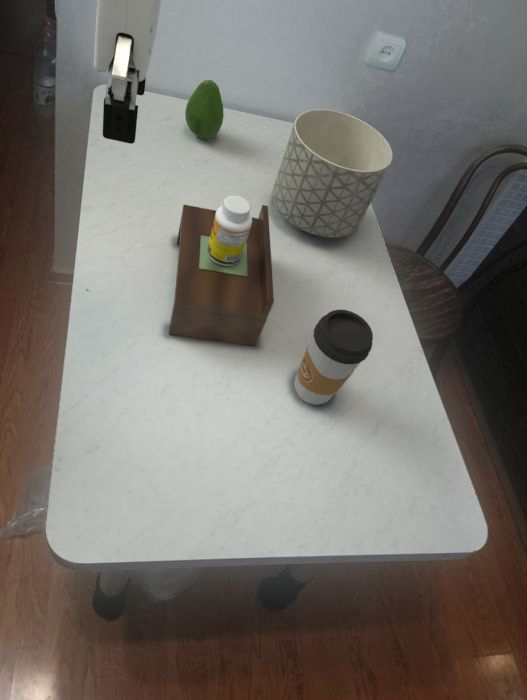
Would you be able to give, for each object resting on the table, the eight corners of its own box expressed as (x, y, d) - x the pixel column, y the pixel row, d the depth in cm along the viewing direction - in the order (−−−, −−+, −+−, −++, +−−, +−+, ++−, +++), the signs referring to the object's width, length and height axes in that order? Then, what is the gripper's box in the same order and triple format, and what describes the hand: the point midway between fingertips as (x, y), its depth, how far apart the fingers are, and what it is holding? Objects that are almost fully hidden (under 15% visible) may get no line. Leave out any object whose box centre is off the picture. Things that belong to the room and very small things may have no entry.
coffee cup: (280, 369, 85) (310, 308, 74) (326, 364, 88) (362, 304, 77) (297, 415, 81) (332, 357, 69) (345, 408, 84) (386, 351, 73)
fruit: (191, 147, 115) (200, 94, 106) (176, 125, 119) (184, 72, 110) (224, 145, 119) (236, 93, 110) (209, 124, 122) (219, 72, 113)
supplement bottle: (216, 238, 88) (229, 186, 80) (246, 253, 87) (262, 203, 79) (200, 256, 84) (212, 204, 76) (231, 273, 84) (246, 222, 76)
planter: (320, 181, 120) (351, 105, 106) (372, 238, 112) (412, 164, 99) (250, 194, 111) (274, 112, 97) (301, 257, 103) (335, 178, 89)
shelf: (168, 334, 84) (177, 286, 75) (177, 239, 97) (186, 189, 89) (255, 346, 87) (274, 301, 78) (252, 252, 100) (268, 205, 92)
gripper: (106, -117, 50) (100, 67, 63) (72, -53, 39) (74, 152, 52) (187, -91, 51) (165, 83, 64) (175, -23, 41) (152, 168, 54)
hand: (124, 114), depth 58 cm, fingers open, 9 cm apart
